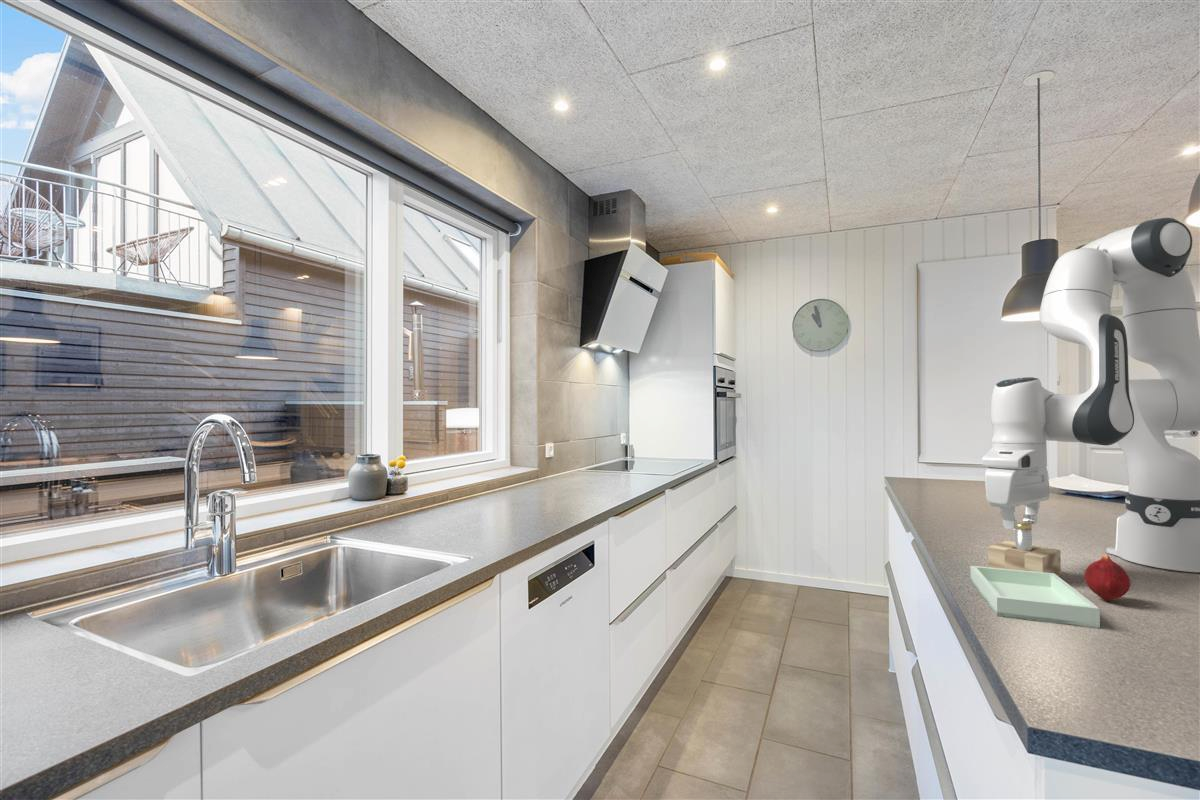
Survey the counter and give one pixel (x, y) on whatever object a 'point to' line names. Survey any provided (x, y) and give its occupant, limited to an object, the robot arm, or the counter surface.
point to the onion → (1107, 579)
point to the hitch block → (1024, 558)
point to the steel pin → (1023, 536)
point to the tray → (1033, 596)
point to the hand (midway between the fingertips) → (1020, 526)
